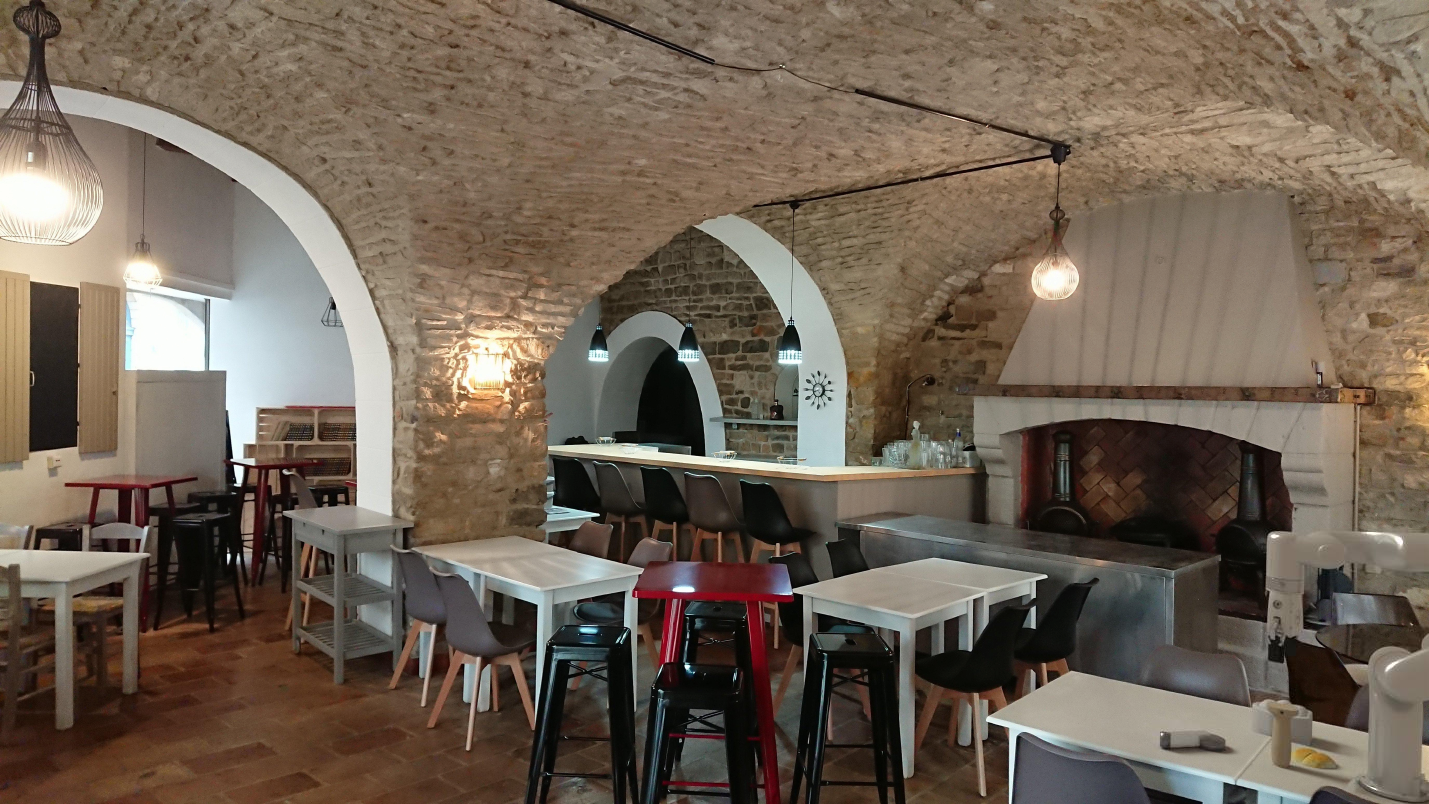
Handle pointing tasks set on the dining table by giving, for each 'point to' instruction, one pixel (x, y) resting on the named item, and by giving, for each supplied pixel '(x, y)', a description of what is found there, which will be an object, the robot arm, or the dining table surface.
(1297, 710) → the handle
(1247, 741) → the dining table surface
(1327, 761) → the bread roll
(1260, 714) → the white egg tray
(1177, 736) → the grey elongated piece
